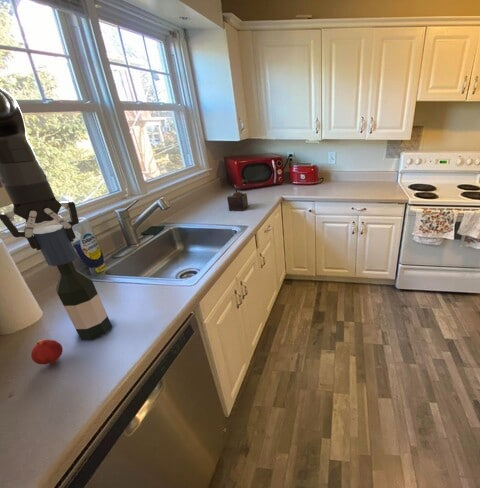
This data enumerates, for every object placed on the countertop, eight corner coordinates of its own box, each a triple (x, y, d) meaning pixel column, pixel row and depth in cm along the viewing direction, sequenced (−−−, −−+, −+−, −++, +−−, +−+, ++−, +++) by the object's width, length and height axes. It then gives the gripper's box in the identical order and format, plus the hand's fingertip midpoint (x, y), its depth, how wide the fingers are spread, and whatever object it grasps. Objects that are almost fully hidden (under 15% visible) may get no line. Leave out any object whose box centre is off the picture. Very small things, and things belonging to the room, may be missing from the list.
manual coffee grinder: (244, 211, 187) (241, 184, 179) (228, 210, 187) (224, 184, 179) (251, 204, 201) (248, 178, 193) (236, 203, 201) (233, 178, 193)
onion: (44, 357, 76) (31, 335, 73) (70, 351, 78) (58, 329, 75) (34, 374, 71) (19, 351, 68) (62, 367, 73) (49, 344, 70)
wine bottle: (74, 344, 81) (25, 251, 68) (83, 325, 87) (40, 238, 74) (109, 335, 84) (68, 245, 71) (115, 318, 90) (79, 233, 78)
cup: (43, 267, 71) (26, 235, 68) (54, 256, 77) (40, 226, 73) (71, 263, 73) (56, 232, 69) (81, 253, 78) (68, 223, 74)
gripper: (62, 173, 73) (86, 232, 80) (-21, 183, 63) (15, 250, 70) (67, 177, 68) (92, 240, 76) (-20, 189, 59) (18, 259, 66)
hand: (55, 244), depth 73 cm, fingers closed on cup, 6 cm apart
